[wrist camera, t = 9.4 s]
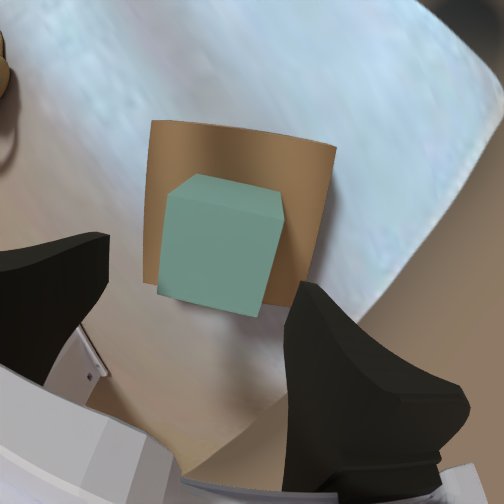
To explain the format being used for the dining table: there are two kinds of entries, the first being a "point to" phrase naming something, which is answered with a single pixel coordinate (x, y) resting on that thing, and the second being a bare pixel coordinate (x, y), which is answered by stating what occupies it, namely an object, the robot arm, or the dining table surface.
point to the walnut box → (248, 172)
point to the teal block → (219, 243)
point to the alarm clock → (3, 70)
